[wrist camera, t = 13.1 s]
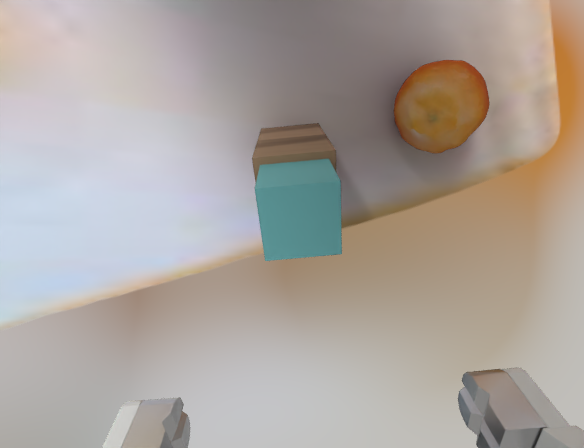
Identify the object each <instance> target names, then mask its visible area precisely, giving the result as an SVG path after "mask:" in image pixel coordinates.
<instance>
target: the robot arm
mask: <svg viewBox="0 0 584 448" xmlns="http://www.w3.org/2000/svg"><path fill="white" fill-rule="evenodd" d="M462 382H463V384H464V386H465V387H464V388H463V389H461V390H460V391H459V396H458V402H459V408H460V412H461V415H462V417H463V419H464V421H465V423H466V425H467V427H468V428H469V429H470V430H472V431H473V432H474V433H475V434H477V443H476V445H477V447H478V448H584V430H582V429H580V428H579V427H577V426H570V425H569V424H568V423H567V421H566V420H565V419H564V418H563V416H562V415H561V414H560V413H559V412H558V410H557V409H556V408H555V407H554V405H553V404H552V403H551V402H550V400H549V399H548V398H547V397H546V396H545V394H544V393H543V392H542V391H541V389H540V388H539V387H538V386H537V384H536V383H535V382H534V381H533V380H532V378H531V377H530V376H529V375H528V373H527V372H526V371H525V370H523V369H522V368H509V369H494V370H484V371H474V372H466V373H465V374H464V375H463V378H462ZM182 409H183V402H182V400H181V398H168V399H154V400H138V401H127V402H125V404H124V405H123V406H122V407H121V408H120V411H119V413H118V415H117V417H116V419H115V421H114V424H113V425H112V428H111V430H110V432H109V434H108V436H107V438H106V440H105V442H104V444H103V447H102V448H188V443H189V437H190V422H189V418H188V415H187V414H186V413H184V412H183V411H182Z"/></svg>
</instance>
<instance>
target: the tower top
mask: <svg viewBox="0 0 584 448" xmlns="http://www.w3.org/2000/svg"><path fill="white" fill-rule="evenodd" d="M319 159H329V160H330V162H331V164H332V166H333V168H334V169H335V171H336V150H335V148H334V147H333V145H332V144H331V142H330V141H329V139H328V138H327V136H326V134H322V135H311V136H300V137H289V138H279V139H268V140H258V141H257V144H256V147H255V151H254V154H253V157H252V160H253V167H254V174H255V181H257V176H258V172H259V167H260V165H265V164H276V163H287V162H297V161H308V160H319Z"/></svg>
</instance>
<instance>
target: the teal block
mask: <svg viewBox="0 0 584 448" xmlns="http://www.w3.org/2000/svg"><path fill="white" fill-rule="evenodd" d="M255 193H256V200H257V207H258V214H259V221H260V228H261V235H262V242H263V249H264V255H265V261H270V260H281V259H292V258H302V257H314V256H326V255H336V254H342V246H341V245H342V242H341V241H342V240H341V182H340V179H339V177H338V175H337V173H336V171H335V169H334V168H333V166H332V164H331V162H330V160H329V159H319V160H308V161H297V162H287V163H276V164H265V165H260V167H259V172H258V176H257V181H256V186H255Z"/></svg>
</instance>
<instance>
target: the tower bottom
mask: <svg viewBox="0 0 584 448" xmlns="http://www.w3.org/2000/svg"><path fill="white" fill-rule="evenodd" d="M322 134H325V133H324V132H323V130H322V128H321V127H320V125H319V124H318V123H317V124H306V125H295V126H284V127H273V128H262V129H261V132H260V135H259V138H258V140H268V139H279V138H289V137H300V136H311V135H322Z"/></svg>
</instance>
